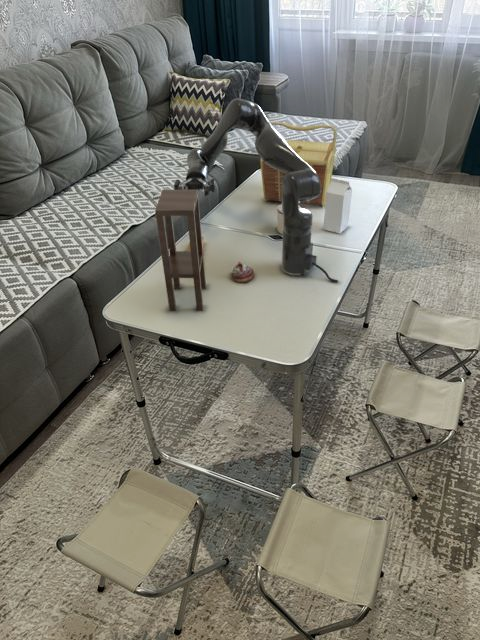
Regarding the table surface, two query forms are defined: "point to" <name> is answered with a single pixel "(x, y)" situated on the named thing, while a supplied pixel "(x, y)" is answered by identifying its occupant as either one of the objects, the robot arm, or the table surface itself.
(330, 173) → the picnic basket
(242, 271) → the pastry
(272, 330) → the table surface
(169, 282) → the stand
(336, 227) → the milk carton
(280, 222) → the teacup with lid
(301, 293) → the table surface
